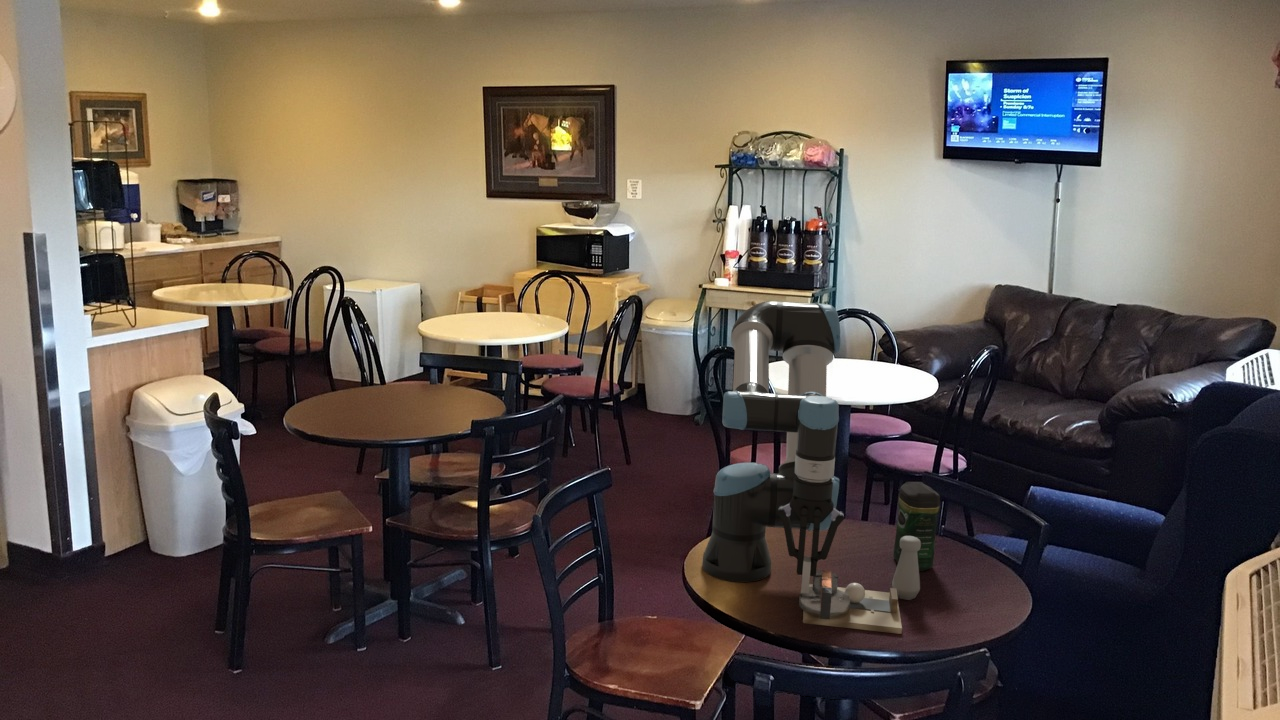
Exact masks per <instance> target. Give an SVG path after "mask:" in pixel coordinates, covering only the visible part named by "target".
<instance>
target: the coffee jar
mask: <svg viewBox="0 0 1280 720" xmlns="http://www.w3.org/2000/svg"><path fill="white" fill-rule="evenodd" d="M940 498H941V496H940V494H939V493H938V492H937V491H935V490H934V489H933V488H932V487H930V485H927V484H925V483H924V482H922V481H905V483H903V484H902V485H901V486H900V488H899V494H898V513H897V522H896V530H895V531H896V532H895V538H894V546H893V554H892V555H893V558H894V560H895V561H896V562H897V563H898V562H899V558H900V555H901V551H902V549H901V548H900V539H901V538H902V537H903V536H914V537H916V538H918V539H919V540H920V542H921V547H920V550H919V551H917V556H918V567H919V572H920V571H926V570H931V569H932V568H933V566H934V560H935V559H934V558H935V548H936V546H935V545H936V534H937V533H936V532H937V524H938V523H937V521H938V514H939V510H940V504H941V503H940V501H941V499H940Z"/></svg>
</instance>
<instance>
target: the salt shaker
mask: <svg viewBox="0 0 1280 720" xmlns="http://www.w3.org/2000/svg"><path fill="white" fill-rule="evenodd" d="M920 547H921V542H920V540H919V539H918V538H916V537H914V536H903V537H902V538H901V539H900V548H901V549H902V551H901V555H900V558H899V562H897V565H896V568H895V573H894V575H893V579H892V581H891V582H892V583H891V584H892V585H891V588H896V590H897V596H898V599H900V600H908V601H911V600H914V599H916V597H917V595H918V594H919V592H920V590H921V580H920V571H919V567H918V556H917V551H919V550H920Z"/></svg>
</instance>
